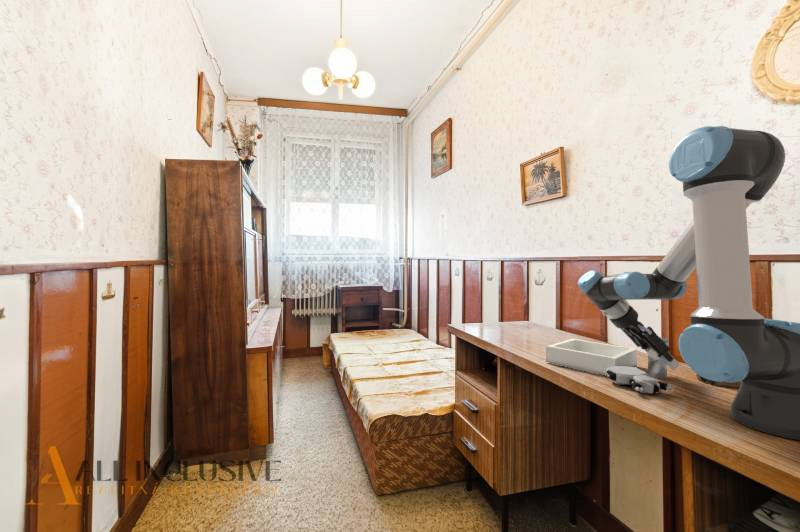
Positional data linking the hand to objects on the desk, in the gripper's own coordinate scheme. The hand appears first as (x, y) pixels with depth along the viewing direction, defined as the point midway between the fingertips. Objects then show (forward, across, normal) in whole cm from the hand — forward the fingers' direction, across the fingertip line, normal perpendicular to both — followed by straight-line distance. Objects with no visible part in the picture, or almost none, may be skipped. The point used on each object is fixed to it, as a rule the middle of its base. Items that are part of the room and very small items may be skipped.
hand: (669, 364), depth 114 cm
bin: (-10, -13, -15) cm, 22 cm away
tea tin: (0, 0, -5) cm, 5 cm away
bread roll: (+11, +6, +5) cm, 13 cm away
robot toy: (-10, +11, -16) cm, 22 cm away
